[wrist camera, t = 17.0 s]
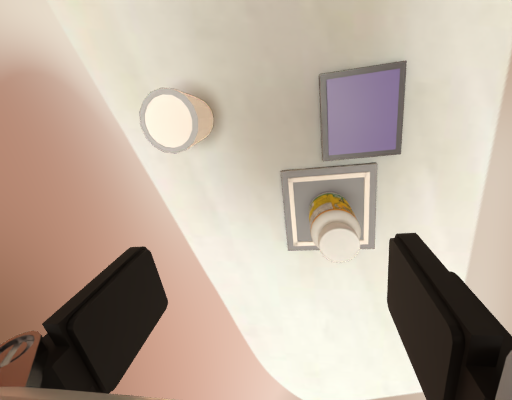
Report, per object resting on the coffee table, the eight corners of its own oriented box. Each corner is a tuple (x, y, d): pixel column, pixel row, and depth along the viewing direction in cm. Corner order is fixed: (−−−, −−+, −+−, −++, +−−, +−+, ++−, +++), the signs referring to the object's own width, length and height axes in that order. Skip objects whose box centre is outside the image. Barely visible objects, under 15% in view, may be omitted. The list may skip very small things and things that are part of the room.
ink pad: (319, 75, 29) (319, 73, 28) (403, 62, 27) (407, 59, 26) (322, 159, 32) (323, 161, 31) (397, 153, 31) (401, 154, 30)
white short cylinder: (227, 130, 33) (210, 135, 27) (187, 154, 35) (161, 164, 29) (200, 80, 32) (174, 73, 25) (160, 108, 34) (126, 108, 27)
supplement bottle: (301, 203, 34) (301, 236, 25) (336, 183, 33) (351, 212, 24) (321, 234, 35) (328, 276, 26) (356, 216, 34) (377, 255, 25)
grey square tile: (280, 170, 34) (280, 172, 33) (375, 162, 31) (378, 164, 31) (288, 248, 38) (287, 251, 37) (373, 246, 35) (375, 249, 34)
